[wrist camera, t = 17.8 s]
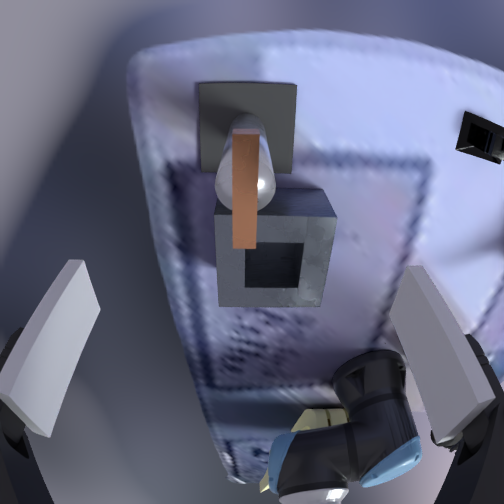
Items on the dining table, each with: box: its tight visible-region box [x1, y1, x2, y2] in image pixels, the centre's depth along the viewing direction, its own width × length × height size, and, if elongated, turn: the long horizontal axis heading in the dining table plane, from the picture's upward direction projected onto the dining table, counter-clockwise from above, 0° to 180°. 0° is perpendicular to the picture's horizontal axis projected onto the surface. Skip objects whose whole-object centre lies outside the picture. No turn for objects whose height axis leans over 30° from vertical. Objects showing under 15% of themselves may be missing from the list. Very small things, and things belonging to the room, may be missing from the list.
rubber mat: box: [199, 83, 297, 174], centre depth 32 cm, size 10×10×1 cm
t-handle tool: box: [215, 113, 276, 249], centre depth 25 cm, size 4×7×17 cm, turn 179°
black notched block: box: [456, 111, 504, 164], centre depth 30 cm, size 12×7×5 cm, turn 85°
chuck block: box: [214, 188, 337, 307], centre depth 37 cm, size 12×12×7 cm
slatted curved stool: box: [260, 408, 350, 492], centre depth 62 cm, size 30×16×18 cm, turn 81°
